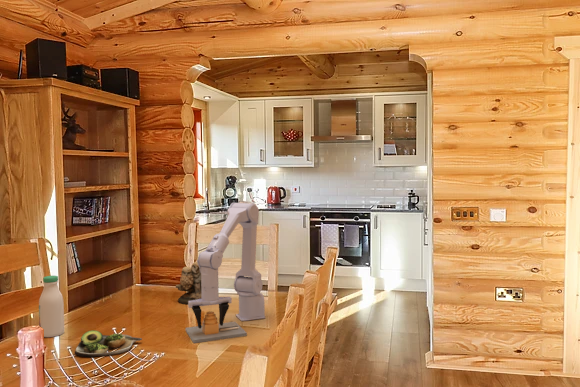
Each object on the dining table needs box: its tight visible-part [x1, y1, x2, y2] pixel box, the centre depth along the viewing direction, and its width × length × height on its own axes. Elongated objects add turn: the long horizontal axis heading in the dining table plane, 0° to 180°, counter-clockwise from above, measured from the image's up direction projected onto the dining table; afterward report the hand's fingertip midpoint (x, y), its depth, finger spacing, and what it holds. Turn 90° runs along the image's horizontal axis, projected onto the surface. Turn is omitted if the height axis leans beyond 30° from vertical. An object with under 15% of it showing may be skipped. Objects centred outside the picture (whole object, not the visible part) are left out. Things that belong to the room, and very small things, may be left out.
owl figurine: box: [175, 261, 202, 305], centre depth 210 cm, size 18×12×17 cm, turn 94°
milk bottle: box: [38, 275, 65, 338], centre depth 167 cm, size 8×8×20 cm
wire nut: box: [201, 311, 219, 335], centre depth 166 cm, size 5×5×7 cm
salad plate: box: [74, 329, 143, 358], centre depth 155 cm, size 19×18×5 cm
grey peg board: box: [185, 321, 248, 344], centre depth 167 cm, size 18×14×4 cm
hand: (210, 326), depth 166 cm, fingers open, 7 cm apart
